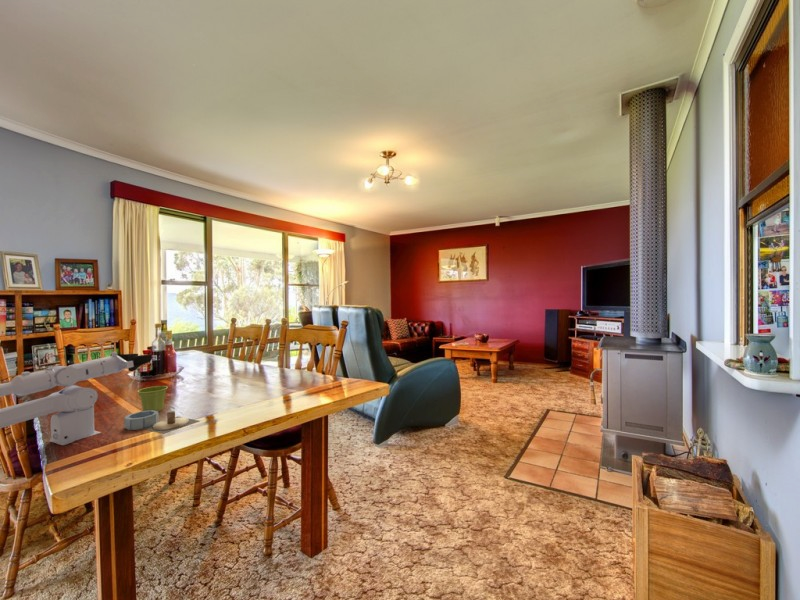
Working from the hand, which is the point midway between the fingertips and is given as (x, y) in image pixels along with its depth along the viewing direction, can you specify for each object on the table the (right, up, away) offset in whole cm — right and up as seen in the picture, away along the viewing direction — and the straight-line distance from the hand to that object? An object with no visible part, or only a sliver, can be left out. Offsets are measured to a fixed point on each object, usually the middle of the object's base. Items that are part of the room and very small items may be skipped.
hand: (144, 357), depth 125 cm
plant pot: (-1, -22, +6) cm, 23 cm away
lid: (+16, -21, -9) cm, 28 cm away
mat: (+16, -21, -9) cm, 28 cm away
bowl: (+6, -22, -9) cm, 24 cm away
